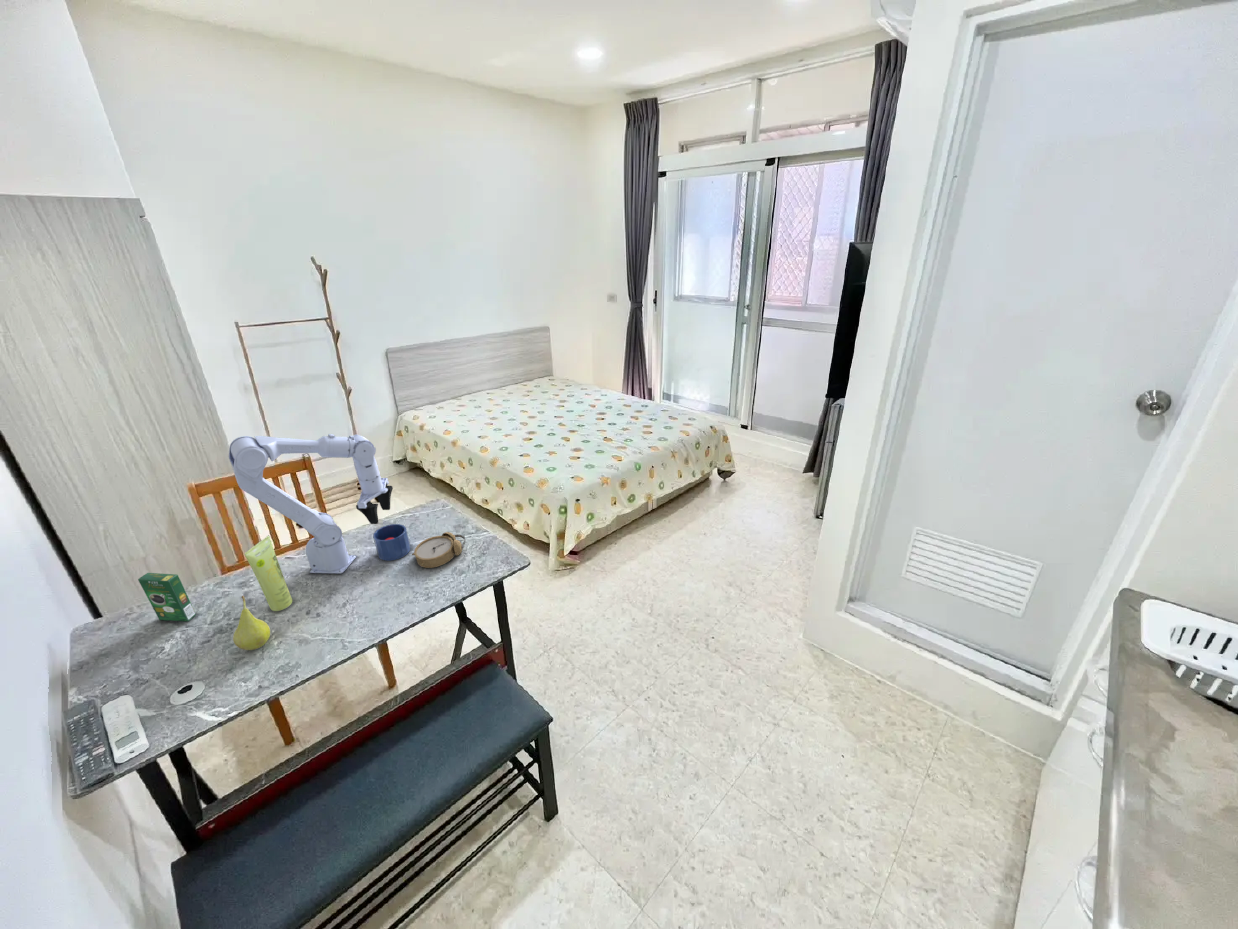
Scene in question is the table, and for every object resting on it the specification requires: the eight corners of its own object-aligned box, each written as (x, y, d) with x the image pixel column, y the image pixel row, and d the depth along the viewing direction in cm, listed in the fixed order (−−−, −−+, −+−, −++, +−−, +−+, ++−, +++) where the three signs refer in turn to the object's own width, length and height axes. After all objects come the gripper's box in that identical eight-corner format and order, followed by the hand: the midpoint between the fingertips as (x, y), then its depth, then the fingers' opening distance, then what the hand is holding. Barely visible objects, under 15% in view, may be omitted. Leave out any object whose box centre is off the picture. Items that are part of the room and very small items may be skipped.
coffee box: (199, 614, 123) (178, 573, 117) (189, 622, 120) (167, 580, 115) (169, 612, 123) (147, 571, 118) (158, 621, 121) (135, 579, 115)
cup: (372, 560, 143) (367, 540, 140) (386, 542, 151) (382, 523, 148) (402, 561, 142) (397, 541, 139) (415, 543, 151) (411, 524, 148)
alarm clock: (407, 547, 143) (454, 522, 151) (413, 559, 146) (459, 534, 153) (421, 565, 136) (469, 538, 143) (427, 578, 138) (474, 550, 146)
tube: (293, 608, 125) (269, 545, 116) (270, 616, 122) (243, 553, 114) (292, 595, 129) (269, 534, 120) (270, 603, 127) (244, 541, 118)
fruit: (237, 661, 109) (218, 621, 104) (241, 639, 115) (223, 600, 110) (272, 649, 112) (255, 610, 107) (275, 629, 118) (258, 590, 113)
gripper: (370, 488, 133) (382, 530, 139) (393, 464, 145) (404, 503, 152) (345, 488, 133) (358, 530, 139) (371, 465, 146) (382, 503, 152)
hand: (380, 516), depth 145 cm, fingers open, 7 cm apart
